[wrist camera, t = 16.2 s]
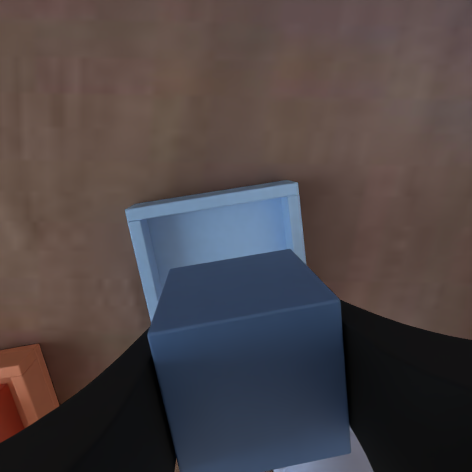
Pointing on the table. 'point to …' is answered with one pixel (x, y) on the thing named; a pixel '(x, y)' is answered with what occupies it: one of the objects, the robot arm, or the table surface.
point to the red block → (8, 414)
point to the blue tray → (213, 229)
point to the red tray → (28, 382)
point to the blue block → (251, 364)
